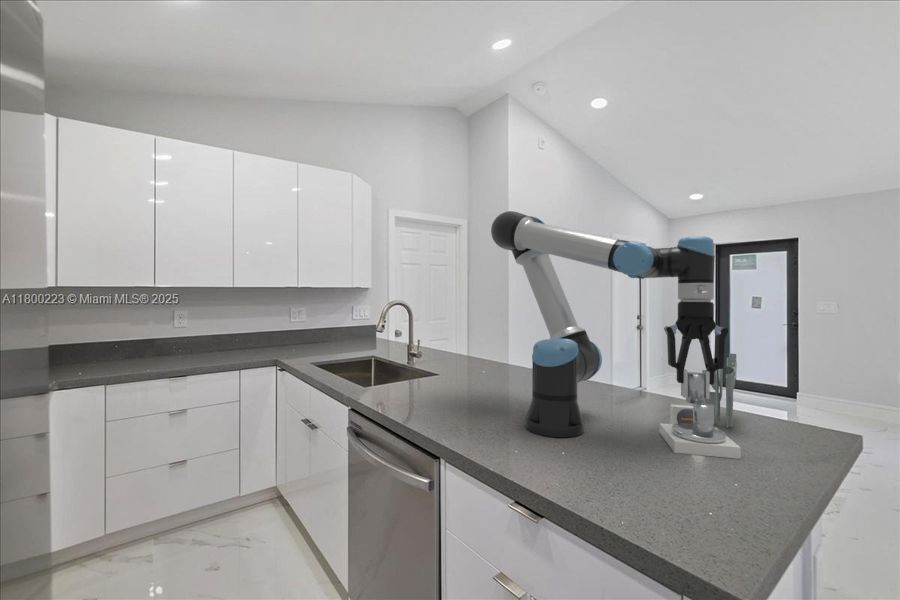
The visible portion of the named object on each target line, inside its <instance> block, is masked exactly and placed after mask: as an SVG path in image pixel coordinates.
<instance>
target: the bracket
mask: <svg viewBox="0 0 900 600" xmlns="http://www.w3.org/2000/svg"><path fill="white" fill-rule="evenodd" d="M712 358H713V363H714V357H712ZM737 363H738V362H737V353H728V357H727V358H726V374H725V404H726V405H725V409H726V410H725V412H726V413H725V416H726V421H725V422H726V425H725V426H726V429H729V427H730V428H733V426H734V425H733V424H734V388H735V387H736V381H737V367H738V364H737ZM723 370H724V368H723V369H718V370H716V371H715V372H714V384H713V385H710V386H711V388H712V389H713V390H714V391H710V399H705V403H709V404H712V405H714V425H716V426H719V422H720V421H721V401H722V397H723V381H724V380H723V376H724V374H723V372H724V371H723Z"/></svg>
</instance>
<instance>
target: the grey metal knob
mask: <svg viewBox="0 0 900 600" xmlns="http://www.w3.org/2000/svg"><path fill="white" fill-rule="evenodd" d="M692 406H693V434H694V435H696V436H699V437H703V438H713V437H714V428H715V426H714V425H715V424H714V405H712V404H709V403H703V402H694V403H693V404H692Z"/></svg>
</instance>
